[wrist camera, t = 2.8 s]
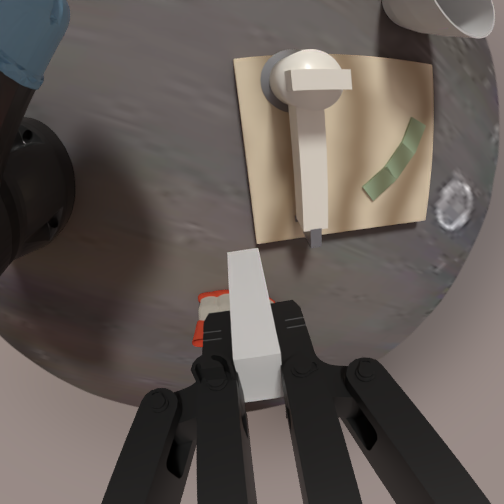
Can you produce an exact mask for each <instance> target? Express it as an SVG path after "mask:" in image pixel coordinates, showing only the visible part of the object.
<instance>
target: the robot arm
mask: <svg viewBox="0 0 504 504" xmlns="http://www.w3.org/2000/svg"><path fill="white" fill-rule="evenodd" d="M69 21H70V8H69V5H68V3H67V1H66V0H0V276H1V274H2V273H3V272H4V271H5V269H6V268H7V267H8V266H9V264H10V263H11V262H12V261H13V260H15V259H17V258H19V257H22V256H24V255H26V254H28V253H31V252H33V251H35V250H38V249H40V248H42V247H44V246H45V245H47V244H48V243H50V242H51V241H52V240H53V239H54V238H55V237H56V235H57V234H58V233H59V232H60V231H61V230H62V229H63V227H64V226H65V224H66V223H67V221H68V219H69V217H70V214H71V211H72V208H73V203H74V197H75V181H74V174H73V169H72V165H71V162H70V159H69V156H68V154H67V151H66V149H65V147H64V145H63V144H62V142H61V141H60V139H59V138H58V137H57V135H56V134H55V133H54V132H53V131H52V130H51V129H50V128H49V127H48V126H46V125H45V124H43V123H42V122H40V121H38V120H35V119H32V118H27V117H24V115H25V112H26V110H27V108H28V105H29V103H30V101H31V99H32V97H33V94H34V92H35V90H37V89H39V87H40V86H41V85H42V83H43V81H44V76H43V74H44V72H45V70H46V68H47V66H48V64H49V62H50V60H51V58H52V56H53V54H54V52H55V50H56V48H57V46H58V45H59V43H60V41H61V39H62V37H63V36H64V34H65V32H66V30H67V28H68V25H69ZM227 255H228V277H229V298H230V310H229V311H222V312H214V313H209V314H208V315H207V317H206V319H205V321H204V324H203V351H202V356H200V357H198V358H197V359H196V360H195V361H194V363H193V364H192V368H191V371H192V374H193V376H194V378H195V380H196V382H195V383H194V384H193V385H191V386H189V387H187V388H185V389H182V390H180V391H177V392H174V393H173V392H172V391H171V390H168V389H166V388H157V389H154V390H151V391H150V392H149V393H147V394H146V395H145V397H144V398H143V400H142V401H141V404H140V406H139V409H138V411H137V413H136V416H135V418H134V421H133V423H132V426H131V428H130V431H129V433H128V436H127V438H126V441H125V443H124V446H123V448H122V451H121V453H120V456H119V458H118V461H117V463H116V466H115V469H114V472H113V474H112V476H111V479H110V482H109V485H108V487H107V490H106V493H105V495H104V498H103V501H102V503H101V504H180V502H181V498H182V495H183V491H184V487H185V484H186V480H187V477H188V473H189V469H190V466H191V462H192V459H193V455H194V451H195V448H196V444H197V501H198V504H257V499H256V491H255V482H254V473H253V465H252V456H251V447H250V438H249V429H248V419H247V413H246V410H245V402H252V401H259V400H266V399H273V398H279V397H284V399H285V405H286V418H288V424H289V429H290V434H291V440H292V445H293V451H294V456H295V461H296V467H297V472H298V477H299V482H300V488H301V493H302V499H303V504H362V501H361V497H360V493H359V489H358V486H357V482H356V479H355V475H354V471H353V467H352V464H351V460H350V457H349V453H348V450H347V447H346V443H345V439H344V436H343V432H342V429H341V426H340V422H339V419H338V417H340V418H341V419H342V421H343V422H344V424H345V426H346V427H347V428H348V430H349V432H350V433H351V435H352V436H353V438H354V439H355V441H356V443H357V444H358V446H359V447H360V449H361V450H362V452H363V454H364V455H365V457H366V458H367V460H368V461H369V463H370V464H371V466H372V467H373V469H374V470H375V472H376V474H377V475H378V477H379V478H380V480H381V481H382V483H383V484H384V486H385V487H386V489H387V490H388V492H389V493H390V495H391V496H392V498H393V499H394V501H395V502H396V504H491V503H490V502H489V500H488V499H487V498H486V496H485V495H484V493H483V492H482V491H481V489H480V488H479V487H478V485H477V484H476V483H475V482H474V480H473V479H472V477H471V476H470V475H469V474H468V472H467V471H466V470H465V468H464V467H463V466H462V465H461V463H460V462H459V460H458V459H457V458H456V457H455V455H454V454H453V453H452V451H451V450H450V449H449V448H448V446H447V445H446V444H445V443H444V441H443V440H442V439H441V437H440V436H439V435H438V434H437V432H436V431H435V430H434V428H433V427H432V426H431V425H430V424H429V422H428V421H427V420H426V418H425V417H424V416H423V415H422V414H421V412H420V411H419V410H418V409H417V407H416V406H415V405H414V404H413V402H412V401H411V400H410V399H409V397H408V396H407V395H406V394H405V392H404V391H403V390H402V389H401V387H400V386H399V385H398V384H397V383H396V381H395V380H394V379H393V378H392V377H391V375H390V374H389V373H388V372H387V370H386V369H385V368H384V367H383V366H382V365H381V364H380V363H379V362H378V361H377V360H374V359H372V358H359V359H355V360H354V361H353V362H351V363H350V364H349V366H335V365H329V364H327V363H324V362H323V361H321V360H320V359H319V358H318V357H317V356H316V354H315V352H314V349H313V346H312V343H311V339H310V336H309V333H308V330H307V327H306V324H305V321H304V318H303V314H302V311H301V308H300V307H299V306H298V305H297V304H296V303H295V302H294V301H293V300H289V301H283V302H277V303H271V304H270V300H269V296H268V291H267V286H266V282H265V277H264V273H263V268H262V263H261V259H260V254H259V249H258V248H254V249H247V250H241V251H234V252H228V253H227ZM244 400H245V401H244Z"/></svg>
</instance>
